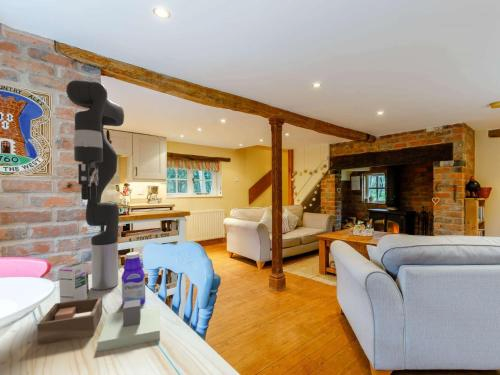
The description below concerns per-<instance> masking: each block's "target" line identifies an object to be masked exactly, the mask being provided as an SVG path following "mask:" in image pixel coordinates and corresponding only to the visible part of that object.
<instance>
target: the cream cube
mask: <svg viewBox="0 0 500 375" xmlns="http://www.w3.org/2000/svg"><path fill="white" fill-rule="evenodd" d="M91 313H92V312H85V313H79V314H75V315H74V317H79V316H86V315H91Z"/></svg>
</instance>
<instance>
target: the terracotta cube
mask: <svg viewBox="0 0 500 375" xmlns="http://www.w3.org/2000/svg"><path fill="white" fill-rule="evenodd" d="M75 314H76V307H70V308H63V309H59V311H58V312H57V313H56V315H55V320H60V319H67V318H73V317H74V315H75Z"/></svg>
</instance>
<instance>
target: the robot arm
mask: <svg viewBox="0 0 500 375" xmlns="http://www.w3.org/2000/svg"><path fill="white" fill-rule="evenodd" d="M66 94H67V97H68V98H69V100H70V101H71V102H72V103H73V104H74V105H76V106H78V107H82V108H85V109H87V110H81V111H77V112H75V114H74V138H73V151H74V152H73V154H74V155H73V156H74V158H73V160H74V161H75V162H78V166H77V167H78V169H77V170H78V182H77V183H78V185H79V186H80V187H81V188H80V191H81V200H82V201H83V200H84V201H86V200H87V201H86V209H85V221H86V224H87V225H89V226H90V227H105V230H104V231H103V232H101V233H98V234H95V235H93V236H92V237H91V240H90V249H91V250H90V251H91V288H92V289H93V290H95V291H97V290H98V291H100V290H101V291H102V290H108V289H113V288H115V287H116V286H118V285H119V249H118V248H119V246H118V245H119V243H118V241H119V239H118V237H119V221H120V220H119V218H120V210H119V206H118V204H117V203H115V202H101V199H102V195H103V193H104V191H105V189H106V187H107V186H108V184H109V183H110V182H111V181H112V180H113V178H114V176H115V175H116V173H117V171H118V170H117V167H118V154H117V153H116V150H115V149H114V147H113V146H112V145H111V143H110V141H109V139H108V138H107V136H106V134H105V130H104V127H105V126H108V127H109V126H110V127H121V126H122V125H124V122H125V112H124V109H123V107H122V105H120V104H118V103H115V102H113V101H112V100H110V99H109V98H108V91H107V88H106V86H105V85H104V84H103V83H101V82H97V81H86V80H78V79H77V80H76V79H75V80H71V81H69V82H68V83H67V85H66Z"/></svg>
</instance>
